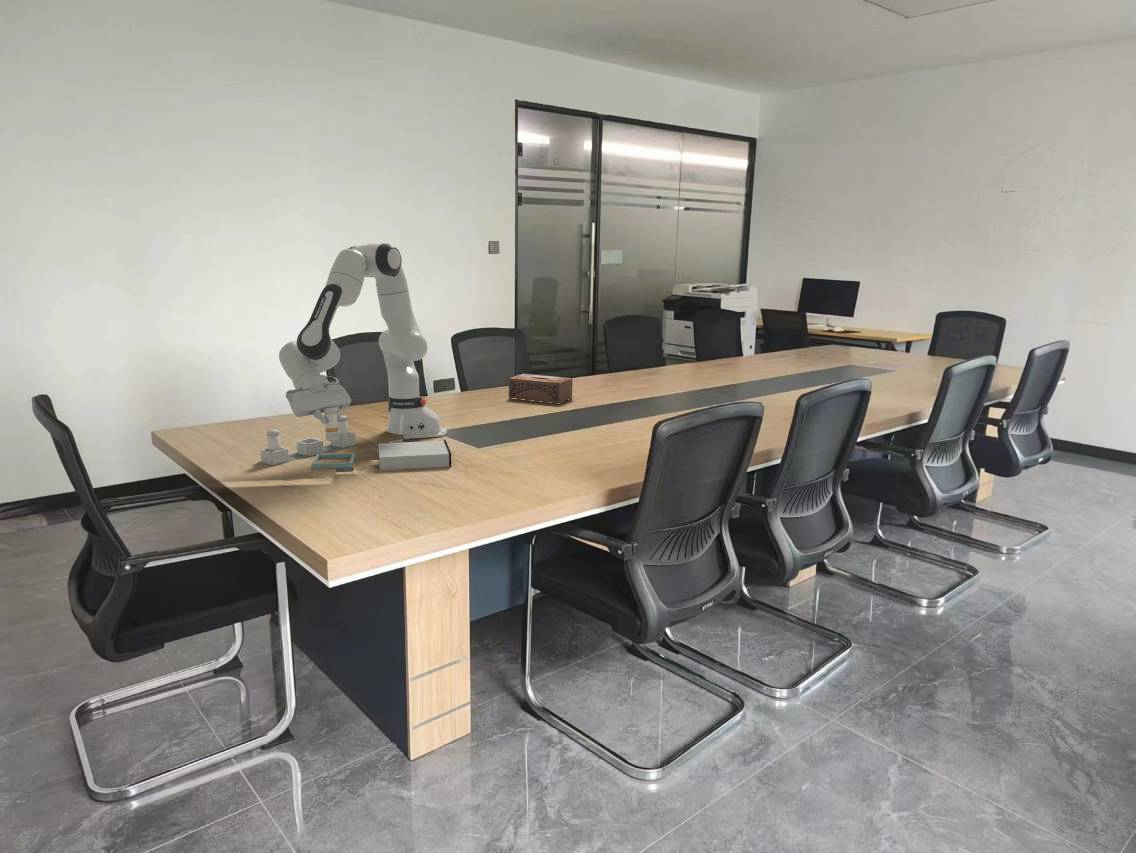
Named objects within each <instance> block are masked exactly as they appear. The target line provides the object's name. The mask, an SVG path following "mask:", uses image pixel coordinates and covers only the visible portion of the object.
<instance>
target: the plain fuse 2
mask: <svg viewBox="0 0 1136 853" xmlns="http://www.w3.org/2000/svg"><path fill="white" fill-rule="evenodd" d="M340 416H341V417H342V419H341V421H337V424H338V435H340V436H343V435H348V431H349V422H348V420H349V418H348V417H349V416H348V415H344V414H343V415H342V414H340Z"/></svg>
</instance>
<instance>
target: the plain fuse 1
mask: <svg viewBox="0 0 1136 853" xmlns="http://www.w3.org/2000/svg"><path fill="white" fill-rule="evenodd" d="M266 441H267V448H268V451H270V452H274V451H279V450H280V447H281V442H280V441H281V440H280V429H277V428H276V429H275V428H274V429H267V430H266Z"/></svg>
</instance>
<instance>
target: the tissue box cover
mask: <svg viewBox="0 0 1136 853" xmlns="http://www.w3.org/2000/svg"><path fill="white" fill-rule="evenodd" d="M509 397H510V398H517V399H525V400H534V401H543V402H552V403H561V402H564V401H566V400H568V399H571V398H572V399H573V378H572V377H561V376H551V375H550V376H549V375H540V374H539V375H538V374H532V373H531V374H528V373H521V374H518V375H515V376H512V377H508V398H509ZM572 399H571V400H572ZM568 401H569V400H568ZM566 402H567V401H566ZM552 403H551V404H552ZM564 403H565V402H564ZM561 404H562V403H561Z"/></svg>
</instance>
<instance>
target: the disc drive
mask: <svg viewBox="0 0 1136 853" xmlns="http://www.w3.org/2000/svg"><path fill="white" fill-rule="evenodd" d="M377 445H378V463H379V471H387V470H389V471H390V470H408V469H424V468H425V469H427V468H430V469H431V468H445V467H447V468H448V467H449V468H450V467H451V468H452V452H451V450H450V447H449V445H448V442H447V439H443V440H434V441H433V440H430V441H429V440H428V441H409V442H405V441H403V442H387V443H378V444H377Z"/></svg>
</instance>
